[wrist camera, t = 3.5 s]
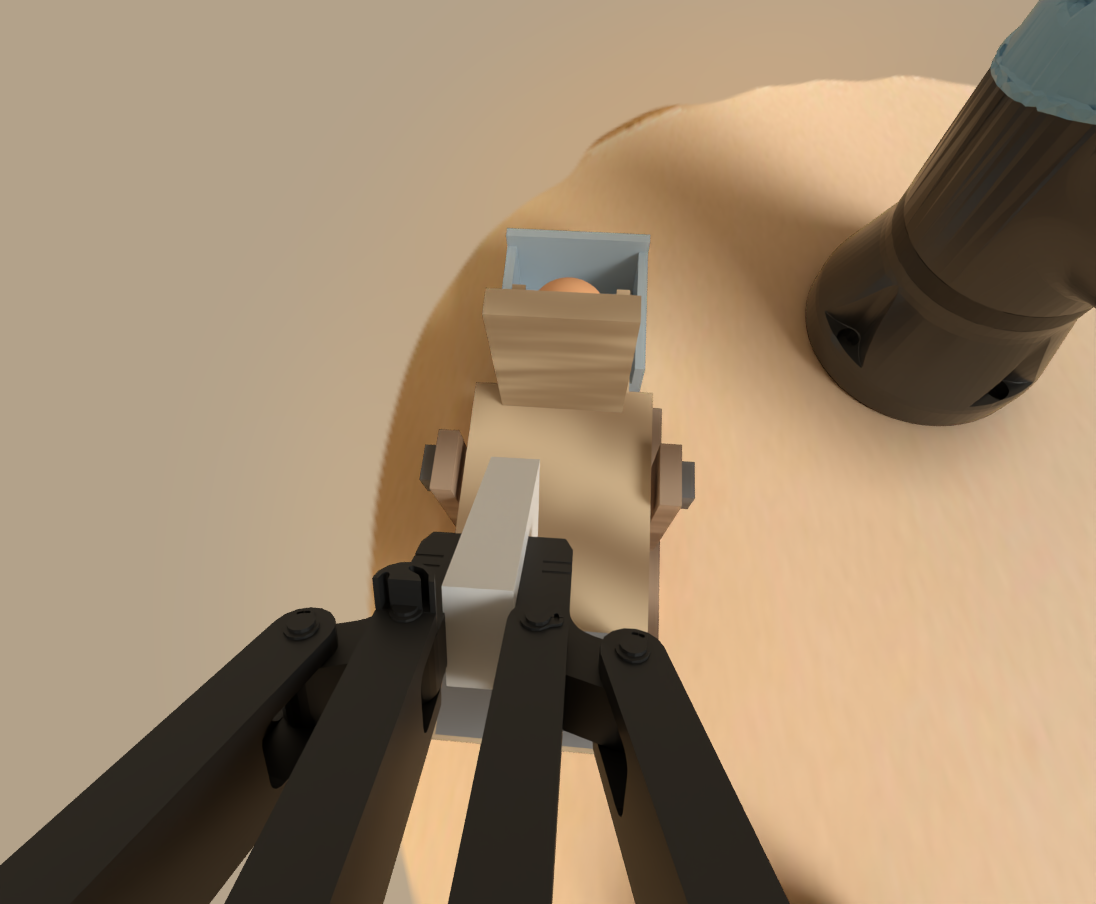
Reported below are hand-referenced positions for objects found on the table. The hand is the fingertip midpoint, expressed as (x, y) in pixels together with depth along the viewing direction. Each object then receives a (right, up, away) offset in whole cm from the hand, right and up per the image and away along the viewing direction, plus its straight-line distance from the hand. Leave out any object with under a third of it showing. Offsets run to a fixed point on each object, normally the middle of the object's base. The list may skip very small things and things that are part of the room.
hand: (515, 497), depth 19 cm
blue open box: (+3, +9, +24) cm, 26 cm away
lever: (+1, -1, +11) cm, 11 cm away
